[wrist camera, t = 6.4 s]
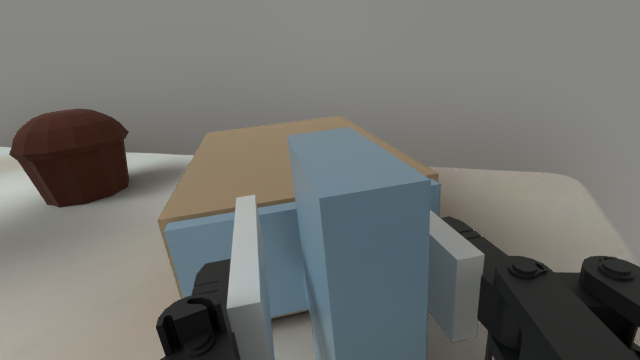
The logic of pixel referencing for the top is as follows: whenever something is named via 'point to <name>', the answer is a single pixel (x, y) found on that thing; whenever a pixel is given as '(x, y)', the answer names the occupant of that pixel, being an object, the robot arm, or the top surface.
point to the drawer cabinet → (250, 171)
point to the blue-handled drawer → (337, 247)
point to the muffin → (73, 156)
